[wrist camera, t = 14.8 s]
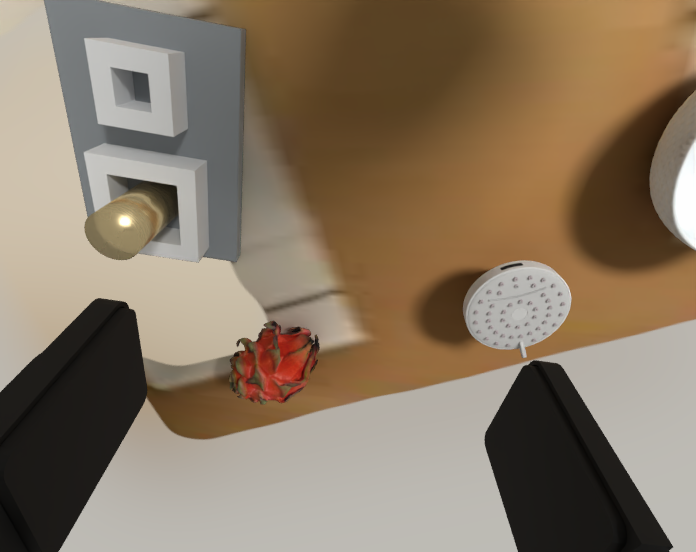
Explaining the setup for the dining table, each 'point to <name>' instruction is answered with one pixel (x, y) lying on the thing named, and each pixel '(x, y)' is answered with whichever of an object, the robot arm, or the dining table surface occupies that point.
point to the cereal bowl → (677, 174)
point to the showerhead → (516, 305)
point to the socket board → (156, 116)
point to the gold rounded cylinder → (132, 219)
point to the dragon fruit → (273, 364)
